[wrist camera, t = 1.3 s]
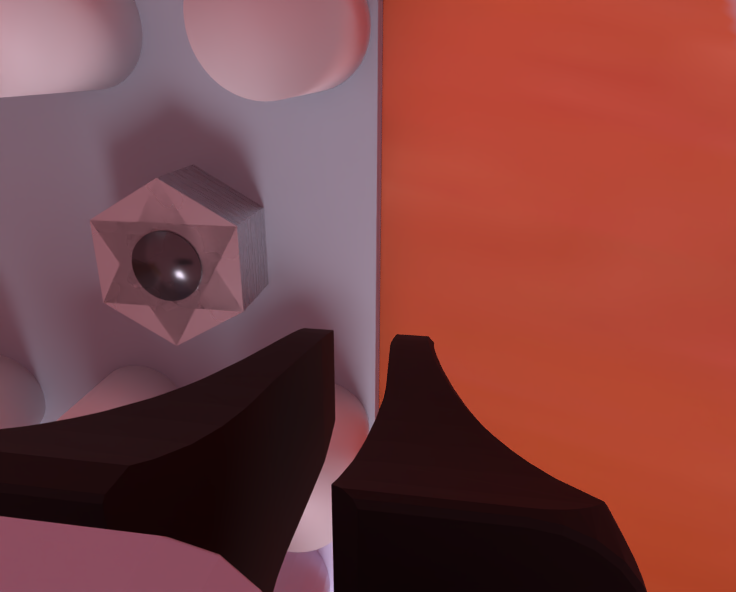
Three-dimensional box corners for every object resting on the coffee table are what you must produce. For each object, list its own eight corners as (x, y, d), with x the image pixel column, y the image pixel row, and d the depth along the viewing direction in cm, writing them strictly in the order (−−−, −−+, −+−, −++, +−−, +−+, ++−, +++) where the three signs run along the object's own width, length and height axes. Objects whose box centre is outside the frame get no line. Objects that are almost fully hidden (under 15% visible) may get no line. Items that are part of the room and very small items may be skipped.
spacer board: (378, 463, 24) (353, 572, 19) (-128, 413, 27) (-264, 494, 22) (383, -60, 17) (347, -109, 12) (-280, -43, 21) (-523, -76, 16)
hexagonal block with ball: (300, 267, 20) (278, 294, 18) (179, 330, 22) (144, 362, 20) (225, 144, 19) (191, 155, 17) (103, 219, 21) (56, 240, 19)
